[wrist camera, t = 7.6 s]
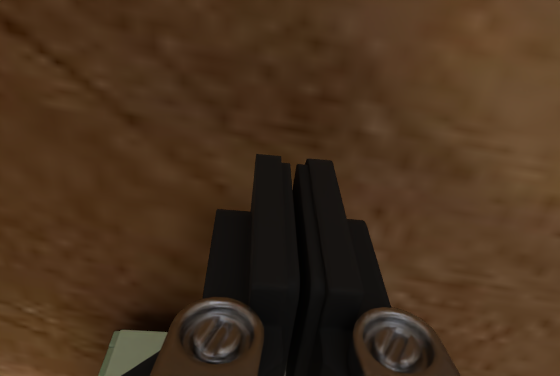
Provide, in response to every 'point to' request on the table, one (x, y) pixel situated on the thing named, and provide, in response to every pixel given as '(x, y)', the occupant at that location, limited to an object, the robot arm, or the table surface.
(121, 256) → the table surface
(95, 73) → the table surface
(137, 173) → the table surface
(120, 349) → the shelf drawer
